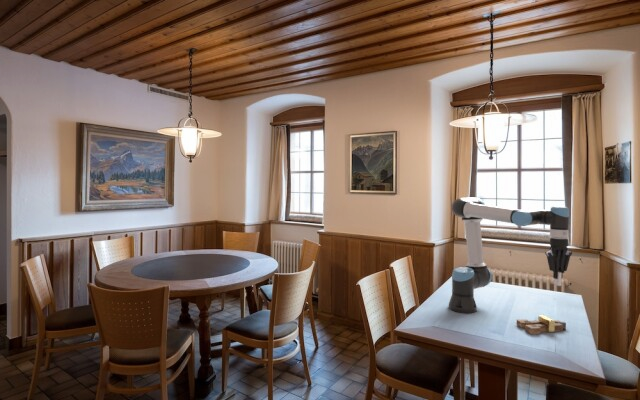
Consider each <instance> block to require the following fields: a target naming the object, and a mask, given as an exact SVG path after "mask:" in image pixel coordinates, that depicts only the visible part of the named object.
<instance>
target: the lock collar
mask: <svg viewBox="0 0 640 400" xmlns="http://www.w3.org/2000/svg"><path fill="white" fill-rule="evenodd" d="M537 321H540V322H542V323H544V324H546V325H547V331H548V333H553V332H555V331H554V330H555V321H556V320H554V319H552V318H550V317H548V316H546V315H544V314H543V315H538V319H537Z"/></svg>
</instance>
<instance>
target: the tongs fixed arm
mask: <svg viewBox="0 0 640 400" xmlns="http://www.w3.org/2000/svg"><path fill="white" fill-rule="evenodd" d="M524 331H525V332H526V333H528V334H530V335H540V334H541V333H547V332H548V331H547V325H546V324H534V325H525V328H524ZM563 331H564V329H563V325H562V324H560V323H555V330H554V332H563ZM548 333H549V332H548Z"/></svg>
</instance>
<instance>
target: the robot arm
mask: <svg viewBox="0 0 640 400" xmlns="http://www.w3.org/2000/svg"><path fill="white" fill-rule="evenodd" d="M451 211H452V213H453V214H454V215H455V216H456V217H457V218H461V221H463V223H464V227H465V239H466V251H467V260H468V261H467V263H466V264H465V266H462V267H459V266H458V267H455V268H454V269H453V270H452V274H451V278H452V279H451V296H450V299H449V302H448V308H449V309H450V310H451V311H453V312H456V313H460V314H474V313H475V312H477V310H478V309H477V307H478V306H477V303H476V300H475V296H474V292H475V291H474V290H475V289H480V288H484V287H486V286H489V284H491V282H492V278H493V277H492V276H493V275H492V272H491V270H490V269H489V268H488V265H487V263H486V262H485V261H484V260H485V259H484V252H483V251H484V250H483V249H484V248H483V240H482V239H483V237H482V228H481V222H482V221H483V220H489V221H493V222H495V221H496V222H502V223H507V224H513V225H516V226H518V227H526V226H535V225H544V226H545V225H546V226H547V225H548V226H550V227H549V237H550V238H549V245H550V247H549V250H548V251H545V252H544V253H545V255H546V258H547V259H546V260H547V263H548V270H549V271H551V272H553V275H552V277H553V281H554V285H555V286H557V287H562V279H563V278H564V277H563V276H564V275H563V274H564V273H565V272H567V271H568V267H569V264H570V258H571V256H572V255H573V251H570V250H569V249H568V246H569V239H568V238H569V230H570V229H569V227H570V225H569V223H570V209H569V207H567V206H557V205H556V206H551V207H550V209H539V208H537V209H536V208H528V209H526V210H524V209H517V208H508V207H501V206H495V205H486V204H485V202H484V200H483V199H480V198H478V197H474V196H473V197H471V196H470V197H460V198H456V199H455V200H453V202H452V204H451Z"/></svg>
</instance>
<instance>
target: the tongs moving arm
mask: <svg viewBox="0 0 640 400" xmlns="http://www.w3.org/2000/svg"><path fill="white" fill-rule="evenodd" d="M554 321H555V323H560V324H562V325H563V330H566V329H567V323H566V322H565V321H562V320H561V321H560V320H554ZM534 324H544V323H542V322H540V321H538V320H528V319H516V325H517V326H518V327H520V328H524V329H525V325H534Z"/></svg>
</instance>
